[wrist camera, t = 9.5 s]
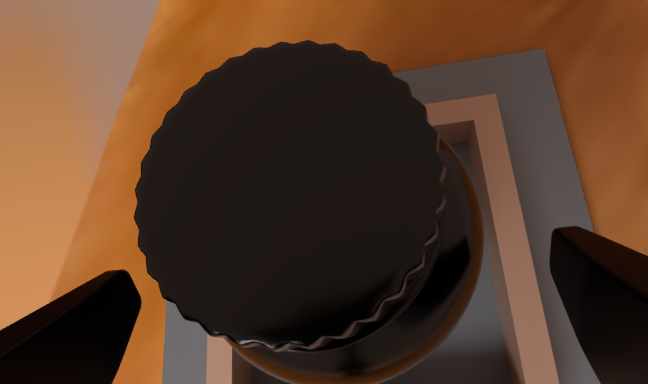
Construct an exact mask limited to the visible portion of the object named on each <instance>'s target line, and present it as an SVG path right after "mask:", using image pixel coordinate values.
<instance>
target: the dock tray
mask: <svg viewBox="0 0 648 384" xmlns="http://www.w3.org/2000/svg"><path fill="white" fill-rule="evenodd" d="M392 74H393V76H395V77H397V78H399V79H401V80H403V81H405V82H407V83H408V84H409V87H410V89H411V92H412V96H413V97H414V98H416V99H417V100H418V101H420V102H421V103H422V104H423V105H424V106H426V109H427V114H428V123H429V124H430V125H431V126H432V127H433V128H434V129H435V130H436V131H437V132H438V133H439V134H440V135H441V136H442V137H443V138H444V139H445V140H446V141H447V142H448V143H449V145H450V146H451V147H452V148H453V149H454V151H455V152H456V153H457V155H458V156H459V158H460V159H461V161H462V162H463V164H464V165H465V167H466V169H467V171H468V173H469V175H470V177H471V179H472V181H473V184H474V186H475V189H476V191H477V195H478V198H479V202H480V205H481V210H482V216H483V223H484V255H483V262H482V268H481V272H480V276H479V280H478V284H477V286H476V289H475V292H474V295H473V297H472V300H471V302H470V304H469V306H468V308H467V310H466V312H465V313H464V315H463V317H462V318H461V320H460V321H459V323H458V325H457V326H456V327H455V329H454V330H453V331H452V332H451V334H450V335H449V336H448V337H447V339H446V340H445V341H444V342H443V343H442V344H441V345H440V346H439V347H438V348H437V349H436V350H435V351H434V352H433V353H431V354H430V355H429V356H428V357H427V358H425V359H424V360H423V361H422V362H420V363H419V364H417V365H415V366H414V367H412V368H411V369H409V370H408V371H406V372H404V373H402V374H400V375H398V376H396V377H394V378H391V379H389V380H386V381H383V382H381V383H378V384H601V383H600V382H599V380H598V378H597V376H596V374H595V373H594V371H593V369H592V367H591V365H590V363H589V362H588V360H587V358H586V356H585V354H584V352H583V350H582V348H581V346H580V344H579V342H578V339H577V337H576V335H575V332H574V330H573V328H572V325H571V323H570V320H569V318H568V315H567V313H566V310H565V308H564V305H563V303H562V300H561V298H560V295H559V293H558V291H557V288H556V286H555V283H554V281H553V278H552V276H551V272H550V267H549V260H550V246H551V234H552V232H553V230H554V229H555V228H558V227H567V226H579V227H582V228H584V229H586V230H589V231H591V232H593V233H594V230H593V226H592V223H591V219H590V215H589V212H588V208H587V204H586V201H585V197H584V193H583V189H582V186H581V182H580V178H579V175H578V171H577V167H576V164H575V160H574V156H573V153H572V149H571V145H570V142H569V138H568V134H567V130H566V127H565V123H564V119H563V116H562V112H561V108H560V105H559V101H558V97H557V94H556V90H555V86H554V83H553V79H552V75H551V71H550V68H549V64H548V60H547V57H546V53H545V49H544V48H540V49H534V50H528V51H522V52H516V53H510V54H504V55H498V56H492V57H486V58H479V59H473V60H467V61H461V62H455V63H449V64H443V65H437V66H431V67H425V68H419V69H413V70H407V71H401V72H395V73H392ZM162 384H291V383H288V382H285V381H282V380H280V379H278V378H275V377H273V376H271V375H269V374H267V373H265V372H263V371H262V370H260V369H258V368H256V367H255V366H254V365H252V364H251V363H250V362H248V361H247V360H245V359H244V358H243V357H242V356H241V355H240V354H238V353H237V352H236V351H235V350H234V349H233V348H232V347H231V346H230V345H229V343H228V342H227V341H226V340H225V339H224V338H217V337H211V336H210V335H209V334H208V333H207V332H206V331H205V330H204V329H203V328H202V327H201V325H200V324H199V323H194V322H191V321H187V320H185V319H183V317H182V316H181V314H180V312H179V310H178V308H177V306H176V304H174V303H172V302H169V301H167V307H166V325H165V344H164V362H163V380H162Z"/></svg>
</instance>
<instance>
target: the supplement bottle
mask: <svg viewBox="0 0 648 384" xmlns="http://www.w3.org/2000/svg"><path fill="white" fill-rule="evenodd" d="M135 193H136V197H137V202H138V203H137V207H136V210H135V214H134V220H135V222H136V225H137V226H138V229H139V235H138V247H139V248H140V250H141V252H143V253H144V255H145V256H146V267H147V273H148V274H149V275H150V276H151V277H152V278H153V279H155V280H156V281H157V282H158V284H159V288H160V291H161V294H162V297H163V298H164V299H166V300H167V301H169V302H172V303H174V304H176V306H177V308H178V310H179V312H180V314H181V316H182V317H183V319H185V320H187V321H191V322H194V323H199V324H200V325H201V327H202V328H203V329H204V330H205V331H206V332H207V333H208V334H209V335H210V336H211V337H217V338H224V339H225V340H226V341H227V342H228V343H229V345H230V346H231V347H232V348H233V349H234V350H235V351H236V352H237V353H238V354H240V355H241V356H242V357H243V358H244V359H245V360H247V361H248V362H250V363H251V364H252V365H254V366H255V367H256V368H258V369H260V370H262V371H263V372H265V373H267V374H269V375H271V376H273V377H275V378H278V379H280V380H282V381H285V382H288V383H291V384H378V383H381V382H383V381H386V380H389V379H391V378H394V377H396V376H398V375H400V374H402V373H404V372H406V371H408V370H409V369H411V368H412V367H414V366H415V365H417V364H419V363H420V362H422V361H423V360H424V359H425V358H427V357H428V356H429V355H430V354H431V353H433V352H434V351H435V350H436V349H437V348H438V347H439V346H440V345H441V344H442V343H443V342H444V341H445V340H446V339H447V337H448V336H449V335H450V334H451V332H452V331H453V330H454V329H455V327H456V326H457V325H458V323H459V321H460V320H461V318H462V317H463V315H464V313H465V312H466V310H467V308H468V306H469V304H470V302H471V300H472V297H473V295H474V292H475V289H476V286H477V284H478V280H479V276H480V272H481V268H482V262H483V255H484V223H483V216H482V210H481V205H480V202H479V198H478V195H477V191H476V189H475V186H474V184H473V181H472V179H471V177H470V175H469V173H468V171H467V169H466V167H465V165H464V164H463V162H462V161H461V159H460V158H459V156H458V155H457V153H456V152H455V151H454V149H453V148H452V147H451V146H450V145H449V143H448V142H447V141H446V140H445V139H444V138H443V137H442V136H441V135H440V134H439V133H438V132H437V131H436V130H435V129H434V128H433V127H432V126H431V125H430V124H429V123H428V114H427V109H426V106H424V105H423V104H422V103H421V102H420V101H418V100H417V99H416V98H414V97H413V96H412V92H411V89H410V87H409V84H408V83H407V82H405V81H403V80H401V79H399V78H397V77H395V76H393V74H392V72H391V71H390V69H389V68H388V66H387V65H386V64H383V63H380V62H375V61H371V60H370V59H369V58H368V57H367V55H365V54H364V53H363V52H362V51H355V50H346V49H344V48H343V47H341V46H340V45H338V44H336V43H331V44H322V45H320V44H317V43H315V42H313V41H310V40H307V41H303V42H299V43H296V44H290V43H287V42H279V43H277V44H274V45H272V46H270V47H268V48H261V47H260V48H253V49H252V50H250V51H248V52H247V53H246V54H244V55H243V56H237V57H233V58H229V59H228V60H227V61H226V62H224V63H223V65H222V66H220V67H219V68H218V69H215V70H212V71H210V72H207V73H205V75H204V76H203V77H202V78H201V80H200V81H199V82H198V84H197V85H195V86H193V87H191V88H189V89H188V90H186V91H185V92H184V93H183V95H182V97H181V99H180V101H179V102H178V104H176V105H175V106H174V107H172V108H171V109H170V110H169V111H168V112H167V113H166V115H165V118H164V120H163V123H162V126H161V127H160V128H159V129H158V130H157V131H156V132H155V133H154V134H153V135H152V138H151V143H150V149H149V151H148V152H147V154H146V155H145V157H144V158H143V160H142V162H141V177H140V179H139V181H138V183H137V186H136V188H135Z"/></svg>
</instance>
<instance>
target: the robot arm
mask: <svg viewBox="0 0 648 384" xmlns="http://www.w3.org/2000/svg"><path fill="white" fill-rule="evenodd" d="M549 267H550V272H551V276H552V278H553V281H554V283H555V286H556V288H557V291H558V293H559V295H560V298H561V300H562V303H563V305H564V308H565V310H566V313H567V315H568V318H569V320H570V323H571V325H572V328H573V330H574V332H575V335H576V337H577V339H578V342H579V344H580V346H581V348H582V350H583V352H584V354H585V356H586V358H587V360H588V362H589V363H590V365H591V367H592V369H593V371H594V373H595V374H596V376H597V378H598V380H599V382H600V383H601V384H648V256H646V255H644V254H642V253H639V252H637V251H635V250H632V249H630V248H628V247H626V246H623V245H621V244H619V243H616V242H614V241H612V240H609V239H607V238H605V237H602V236H600V235H598V234H595V233H593V232H591V231H589V230H586V229H584V228H582V227H579V226H567V227H558V228H555V229H554V230H553V232H552V234H551V246H550V260H549ZM140 309H141V297H140V294H139V292H138V290H137V288H136V286H135V284H134V282H133V280H132V278H131V276H130V274H129V273H128V272H127V271H126V270H111V271H106V272H104V273H102V274H101V275H99V276H97V277H95V278H93V279H92V280H90V281H88V282H86V283H84V284H83V285H81V286H79V287H77V288H75V289H74V290H72V291H70V292H68V293H66V294H65V295H63V296H61V297H59V298H57V299H56V300H54V301H52V302H50V303H49V304H47V305H45V306H43V307H41V308H40V309H38V310H36V311H34V312H33V313H31V314H29V315H27V316H25V317H23V318H22V319H20V320H18V321H16V322H15V323H13V324H11V325H9V326H7V327H6V328H4V329H2V330H0V384H112V383H113V380H114V378H115V376H116V374H117V371H118V369H119V367H120V364H121V361H122V359H123V356H124V353H125V350H126V348H127V345H128V342H129V339H130V337H131V334H132V331H133V328H134V326H135V323H136V320H137V317H138V315H139V312H140Z"/></svg>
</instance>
